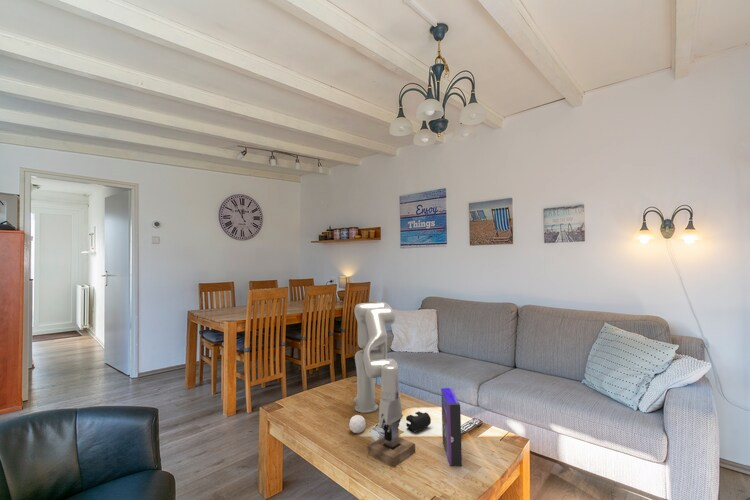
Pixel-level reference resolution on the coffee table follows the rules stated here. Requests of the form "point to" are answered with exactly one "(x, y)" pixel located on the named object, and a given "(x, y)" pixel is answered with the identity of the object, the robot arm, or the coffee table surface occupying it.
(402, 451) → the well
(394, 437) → the grey rectangular block
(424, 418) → the end cap
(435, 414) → the coffee table surface
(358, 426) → the geometric ball
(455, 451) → the cereal box
